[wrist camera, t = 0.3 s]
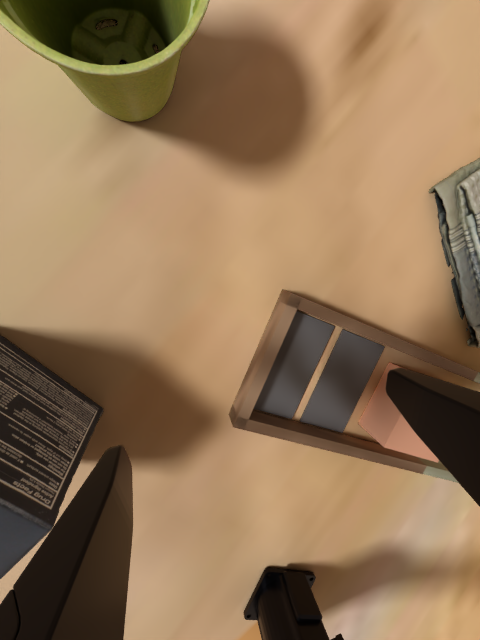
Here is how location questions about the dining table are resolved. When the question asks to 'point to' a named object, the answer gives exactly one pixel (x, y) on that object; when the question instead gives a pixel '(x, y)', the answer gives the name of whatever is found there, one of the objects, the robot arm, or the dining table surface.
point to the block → (391, 423)
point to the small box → (36, 449)
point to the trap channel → (323, 382)
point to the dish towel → (462, 239)
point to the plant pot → (110, 46)
